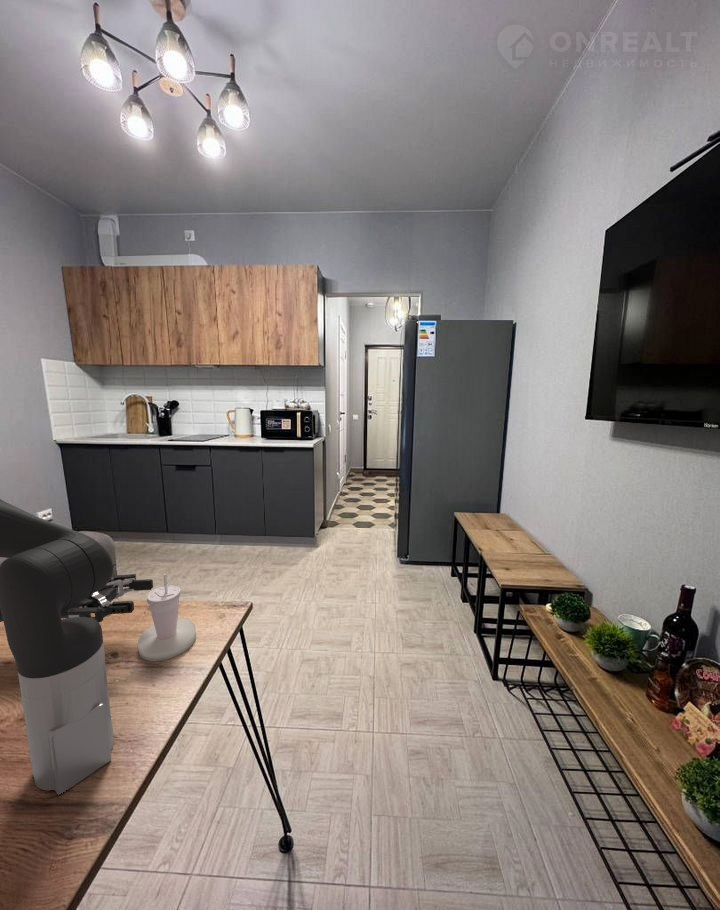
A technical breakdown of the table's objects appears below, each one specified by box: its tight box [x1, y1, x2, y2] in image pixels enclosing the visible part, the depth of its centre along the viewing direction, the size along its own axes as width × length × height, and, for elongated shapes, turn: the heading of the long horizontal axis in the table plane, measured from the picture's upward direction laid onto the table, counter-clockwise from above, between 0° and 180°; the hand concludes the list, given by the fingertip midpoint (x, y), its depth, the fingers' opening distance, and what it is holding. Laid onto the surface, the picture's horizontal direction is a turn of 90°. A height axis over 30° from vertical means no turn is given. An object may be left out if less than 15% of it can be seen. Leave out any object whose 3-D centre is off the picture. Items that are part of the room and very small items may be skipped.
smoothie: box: [146, 573, 182, 640], centre depth 76 cm, size 6×6×14 cm
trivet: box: [137, 618, 197, 662], centre depth 77 cm, size 11×11×2 cm
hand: (143, 594), depth 75 cm, fingers open, 8 cm apart
